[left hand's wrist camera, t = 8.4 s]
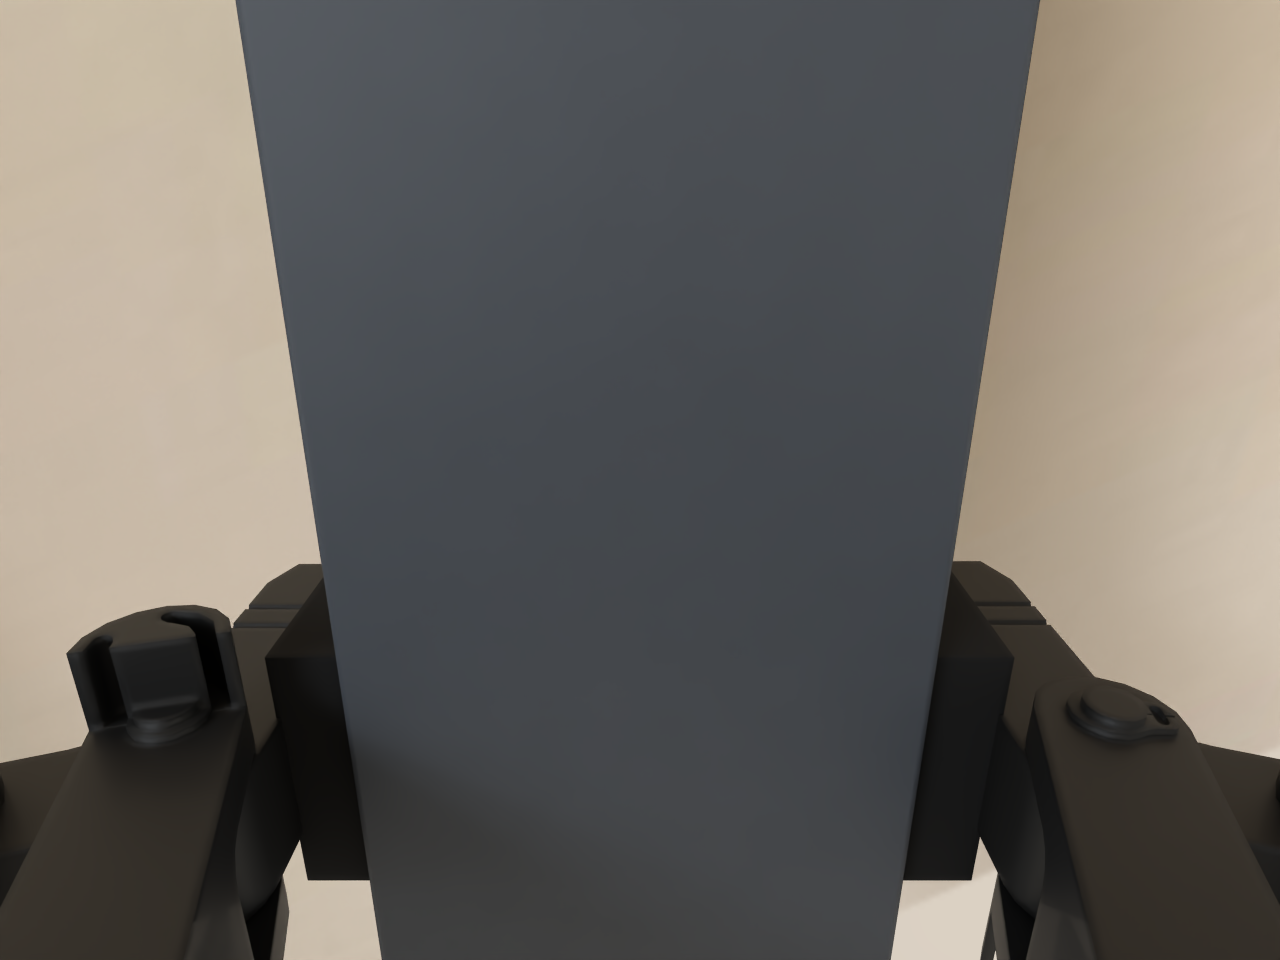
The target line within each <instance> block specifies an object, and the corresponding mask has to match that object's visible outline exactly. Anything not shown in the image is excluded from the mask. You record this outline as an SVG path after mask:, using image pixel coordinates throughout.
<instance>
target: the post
mask: <svg viewBox="0 0 1280 960" xmlns="http://www.w3.org/2000/svg"><path fill="white" fill-rule="evenodd" d="M1039 3H1040V0H236V6H237V13H238V20H239V26H240V33H241V39H242V46H243V52H244V59H245V65H246V72H247V79H248V85H249V92H250V98H251V105H252V111H253V118H254V124H255V131H256V138H257V144H258V151H259V157H260V164H261V170H262V177H263V183H264V190H265V197H266V203H267V210H268V216H269V223H270V229H271V236H272V242H273V249H274V256H275V262H276V269H277V275H278V282H279V288H280V295H281V301H282V308H283V315H284V321H285V328H286V334H287V341H288V347H289V354H290V360H291V367H292V373H293V380H294V387H295V393H296V400H297V406H298V413H299V419H300V426H301V432H302V439H303V446H304V452H305V459H306V465H307V472H308V478H309V485H310V491H311V498H312V505H313V511H314V518H315V524H316V531H317V537H318V544H319V550H320V557H321V564H322V570H323V577H324V583H325V590H326V596H327V603H328V609H329V616H330V623H331V629H332V636H333V642H334V649H335V655H336V662H337V668H338V675H339V682H340V688H341V695H342V701H343V708H344V714H345V721H346V727H347V734H348V741H349V747H350V754H351V760H352V767H353V773H354V780H355V786H356V793H357V799H358V806H359V813H360V819H361V826H362V832H363V839H364V845H365V852H366V858H367V865H368V872H369V878H370V885H371V891H372V898H373V904H374V911H375V917H376V924H377V931H378V937H379V944H380V950H381V957H382V960H891V954H892V947H893V941H894V934H895V928H896V922H897V915H898V909H899V902H900V896H901V889H902V883H903V877H904V870H905V864H906V857H907V851H908V844H909V838H910V832H911V825H912V819H913V812H914V806H915V800H916V793H917V787H918V780H919V774H920V767H921V761H922V755H923V748H924V742H925V735H926V729H927V722H928V716H929V710H930V703H931V697H932V690H933V684H934V677H935V671H936V665H937V658H938V652H939V645H940V639H941V632H942V626H943V620H944V613H945V607H946V600H947V594H948V587H949V581H950V575H951V568H952V562H953V555H954V549H955V543H956V536H957V530H958V523H959V517H960V510H961V504H962V498H963V491H964V485H965V478H966V472H967V465H968V459H969V453H970V446H971V440H972V433H973V427H974V420H975V414H976V408H977V401H978V395H979V388H980V382H981V375H982V369H983V363H984V356H985V350H986V343H987V337H988V330H989V324H990V318H991V311H992V305H993V298H994V292H995V286H996V279H997V273H998V266H999V260H1000V253H1001V247H1002V241H1003V234H1004V228H1005V221H1006V215H1007V208H1008V202H1009V196H1010V189H1011V183H1012V176H1013V170H1014V163H1015V157H1016V151H1017V144H1018V138H1019V131H1020V125H1021V118H1022V112H1023V106H1024V99H1025V93H1026V86H1027V80H1028V73H1029V67H1030V61H1031V54H1032V48H1033V41H1034V35H1035V29H1036V22H1037V16H1038V9H1039Z"/></svg>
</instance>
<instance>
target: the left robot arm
mask: <svg viewBox="0 0 1280 960" xmlns="http://www.w3.org/2000/svg"><path fill="white" fill-rule="evenodd" d="M66 654H67V658H68V661H69V664H70V668H71V671H72V674H73V678H74V681H75V685H76V688H77V691H78V695H79V698H80V701H81V705H82V708H83V712H84V715H85V718H86V722H87V725H88V728H89V732H88V734H87V736H86V738H85V740H84V742H83V744H82V746H81V747H77V748H73V749H69V750H65V751H59V752H54V753H49V754H44V755H39V756H34V757H29V758H24V759H19V760H14V761H9V762H4V763H0V960H283V958H284V950H285V942H286V934H287V926H288V918H289V907H288V900H287V894H286V889H285V884H284V879H283V873H284V871H285V869H286V867H287V865H288V863H289V861H290V859H291V857H292V855H293V852H294V850H295V848H296V846H297V844H298V842H299V840H300V843H301V848H302V853H303V858H304V863H305V868H306V873H307V879H308V880H370V878H369V872H368V865H367V858H366V852H365V845H364V839H363V832H362V826H361V819H360V813H359V806H358V799H357V793H356V786H355V780H354V773H353V767H352V760H351V754H350V747H349V741H348V734H347V727H346V721H345V714H344V708H343V701H342V695H341V688H340V682H339V675H338V668H337V662H336V655H335V649H334V642H333V636H332V629H331V623H330V616H329V609H328V603H327V596H326V590H325V583H324V577H323V570H322V564H299V565H297V566H295V567H294V568H292V569H290V570H289V571H287V572H285V573H284V574H282V575H280V576H278V577H277V578H275V579H273V580H272V581H270V582H268V583H267V584H266V586H265V587H264V588H263V589H262V590H261V591H260V593H259V594H258V595H257V596H256V597H255V599H254V600H253V601H252V602H251V603H250V604H249V609H245V610H244V612H243V613H242V614H241V615H240V616H239V617H238V619H237V620H236V621H235V622H234V626H233V628H231V625H230V620H229V618H228V617H226V616H225V615H224V614H222V613H221V612H220V611H218V610H217V609H213V608H208V607H203V606H197V605H182V606H165V607H160V608H155V609H151V610H146V611H141V612H136V613H134V614H131V615H128V616H125V617H123V618H120V619H117V620H114V621H112V622H109V623H107V624H105V625H103V626H101V627H100V628H98V629H96V630H94V631H93V632H91V633H89V634H88V635H86V636H84V637H82V638H81V639H80V640H79V641H78V642H77V643H76V644H75V645H74V646H73V647H72V648H71V649H70V650H69V651H68V652H67V653H66ZM980 837H981V839H982V841H983V844H984V846H985V848H986V850H987V852H988V854H989V856H990V858H991V860H992V862H993V864H994V866H995V868H996V870H997V872H998V874H997V879H996V884H995V889H994V893H993V898H992V903H991V908H990V913H989V917H988V922H987V927H986V932H985V937H984V941H983V946H982V952H981V959H980V960H993V958H994V954H995V951H996V955H997V960H1280V759H1275V758H1270V757H1265V756H1260V755H1255V754H1250V753H1245V752H1240V751H1235V750H1230V749H1225V748H1219V747H1214V746H1210V745H1206V744H1202V743H1198V742H1197V741H1196V739H1195V737H1194V735H1193V733H1192V731H1191V729H1190V728H1189V727H1188V726H1187V724H1186V723H1185V722H1184V721H1183V720H1182V718H1181V717H1180V716H1179V715H1178V714H1177V712H1175V711H1174V710H1172V709H1171V708H1170V707H1168V706H1167V705H1165V704H1164V703H1162V702H1161V701H1159V700H1158V699H1156V698H1155V697H1153V696H1151V695H1149V694H1147V693H1144V692H1142V691H1140V690H1137V689H1135V688H1133V687H1130V686H1128V685H1126V684H1122V683H1118V682H1113V681H1109V680H1105V679H1101V678H1097V677H1094V676H1093V674H1092V673H1091V672H1090V671H1089V670H1088V669H1087V667H1086V666H1085V665H1084V664H1083V663H1082V662H1081V660H1080V659H1079V658H1078V657H1077V656H1076V655H1075V653H1074V652H1073V651H1072V650H1071V649H1070V648H1069V646H1068V645H1067V644H1066V643H1065V642H1064V640H1063V639H1062V638H1061V637H1060V636H1059V635H1058V633H1057V632H1056V631H1055V630H1054V629H1053V628H1052V626H1051V625H1047V624H1046V619H1045V618H1044V617H1043V616H1042V615H1041V613H1040V612H1039V611H1038V610H1037V609H1036V608H1035V606H1031V602H1030V601H1029V599H1028V598H1027V597H1026V596H1025V595H1024V594H1023V592H1022V591H1021V590H1020V589H1019V588H1018V587H1017V585H1016V584H1015V583H1014V582H1013V581H1012V580H1011V579H1009V578H1008V577H1006V576H1004V575H1003V574H1001V573H999V572H998V571H996V570H994V569H992V568H991V567H989V566H987V565H986V564H984V563H982V562H981V561H953V562H952V568H951V575H950V581H949V587H948V594H947V600H946V607H945V613H944V620H943V626H942V632H941V639H940V645H939V652H938V658H937V665H936V671H935V677H934V684H933V690H932V697H931V703H930V710H929V716H928V722H927V729H926V735H925V742H924V748H923V755H922V761H921V767H920V774H919V780H918V787H917V793H916V800H915V806H914V812H913V819H912V825H911V832H910V838H909V844H908V851H907V857H906V864H905V870H904V877H903V880H972V875H973V870H974V864H975V859H976V854H977V849H978V844H979V839H980Z"/></svg>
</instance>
